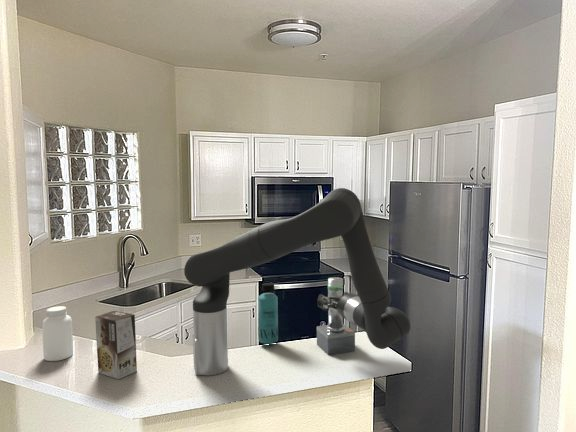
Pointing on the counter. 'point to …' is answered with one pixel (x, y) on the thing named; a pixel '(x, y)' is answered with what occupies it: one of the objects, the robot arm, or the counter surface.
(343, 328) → the clear glass cylinder
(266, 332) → the beverage bottle
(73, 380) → the counter surface
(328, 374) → the counter surface
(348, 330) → the stand block
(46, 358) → the pill bottle
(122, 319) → the coffee box
